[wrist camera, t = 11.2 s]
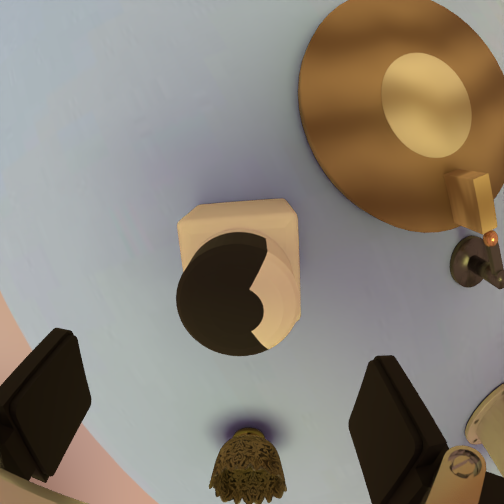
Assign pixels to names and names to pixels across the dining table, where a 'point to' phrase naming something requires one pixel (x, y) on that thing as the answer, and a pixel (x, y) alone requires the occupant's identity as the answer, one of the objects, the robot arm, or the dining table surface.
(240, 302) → the medicine bottle
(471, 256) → the joystick
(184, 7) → the dining table surface
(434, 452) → the robot arm
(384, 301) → the dining table surface
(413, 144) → the disc
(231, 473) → the brown textured pot
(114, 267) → the dining table surface
